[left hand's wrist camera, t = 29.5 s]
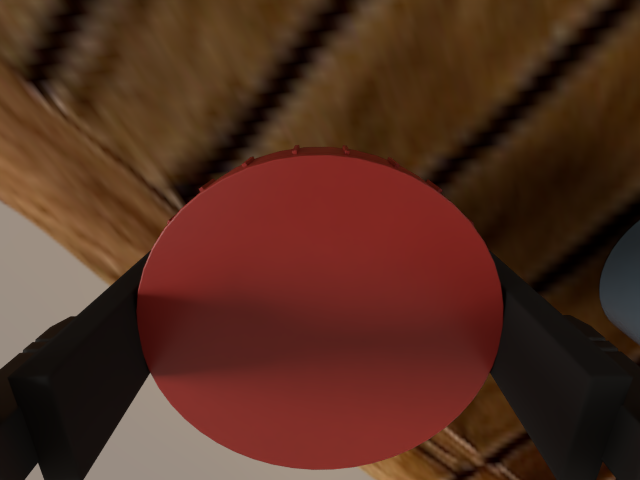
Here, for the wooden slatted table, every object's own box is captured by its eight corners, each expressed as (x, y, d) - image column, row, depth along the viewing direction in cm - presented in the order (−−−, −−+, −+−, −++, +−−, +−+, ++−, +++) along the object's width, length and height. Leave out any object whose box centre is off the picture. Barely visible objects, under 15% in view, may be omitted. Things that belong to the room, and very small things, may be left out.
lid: (552, 264, 11) (589, 290, 10) (360, 468, 14) (364, 512, 13) (259, 64, 9) (247, 57, 8) (108, 349, 12) (78, 384, 11)
